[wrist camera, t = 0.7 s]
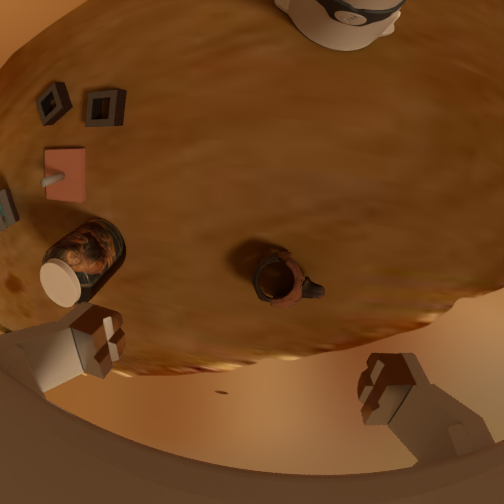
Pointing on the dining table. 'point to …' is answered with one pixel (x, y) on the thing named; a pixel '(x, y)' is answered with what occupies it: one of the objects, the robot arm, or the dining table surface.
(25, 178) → the dining table surface
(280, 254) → the pottery mug
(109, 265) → the jar
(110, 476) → the robot arm
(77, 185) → the keeper
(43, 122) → the loose link
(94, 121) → the link
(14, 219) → the grey lidded box
